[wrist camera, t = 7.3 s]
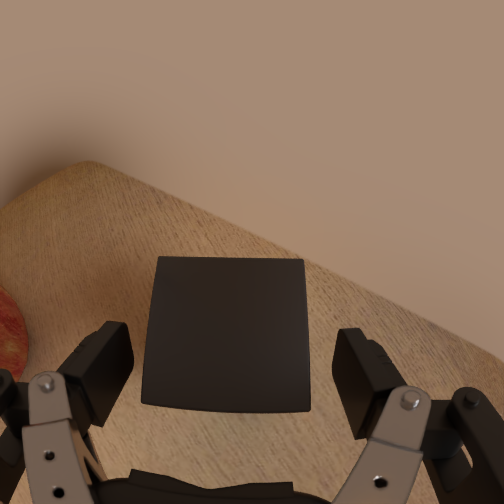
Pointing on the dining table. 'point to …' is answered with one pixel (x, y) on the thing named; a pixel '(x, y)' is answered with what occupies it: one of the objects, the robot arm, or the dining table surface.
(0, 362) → the fruit
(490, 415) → the robot arm
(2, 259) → the dining table surface
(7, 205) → the dining table surface
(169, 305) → the block
